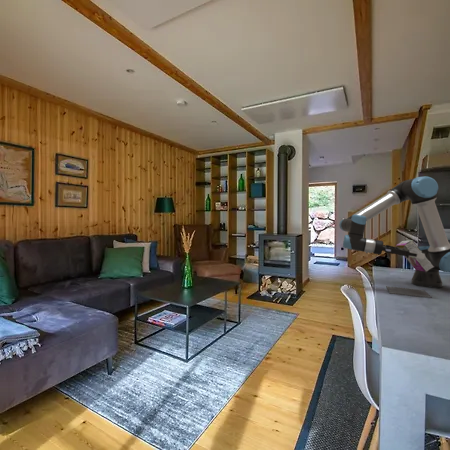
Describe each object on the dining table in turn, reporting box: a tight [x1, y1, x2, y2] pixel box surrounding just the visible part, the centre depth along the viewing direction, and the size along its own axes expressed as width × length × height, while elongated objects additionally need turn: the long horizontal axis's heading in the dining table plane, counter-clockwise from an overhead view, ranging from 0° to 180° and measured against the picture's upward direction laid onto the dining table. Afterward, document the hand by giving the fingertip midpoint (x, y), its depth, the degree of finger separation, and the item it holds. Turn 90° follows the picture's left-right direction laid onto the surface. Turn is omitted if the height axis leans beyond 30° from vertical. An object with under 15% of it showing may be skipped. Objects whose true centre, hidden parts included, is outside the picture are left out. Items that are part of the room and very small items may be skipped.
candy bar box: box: [395, 239, 434, 272], centre depth 145 cm, size 11×5×16 cm
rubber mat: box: [385, 286, 433, 299], centre depth 148 cm, size 18×16×1 cm
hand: (420, 254), depth 144 cm, fingers closed on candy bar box, 12 cm apart
